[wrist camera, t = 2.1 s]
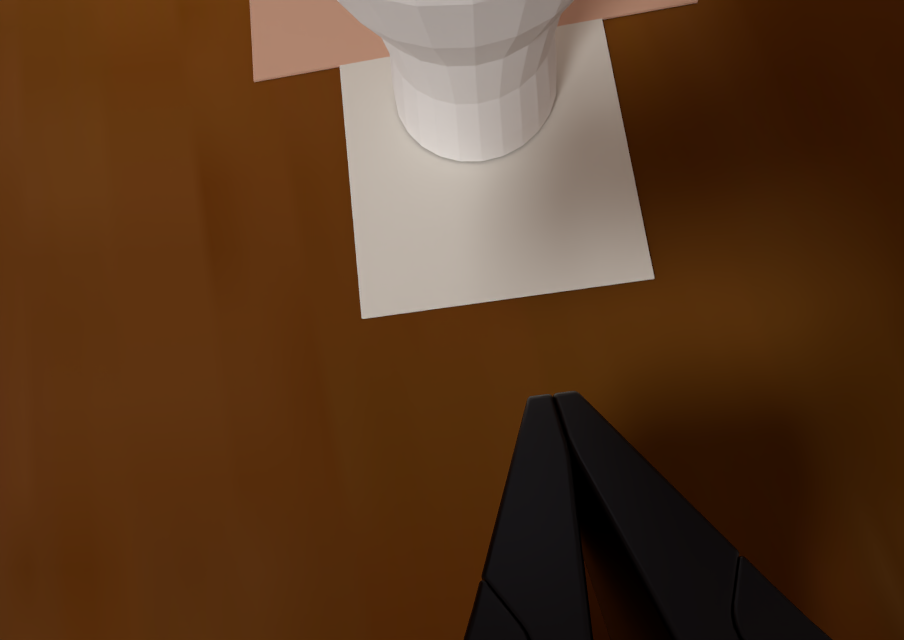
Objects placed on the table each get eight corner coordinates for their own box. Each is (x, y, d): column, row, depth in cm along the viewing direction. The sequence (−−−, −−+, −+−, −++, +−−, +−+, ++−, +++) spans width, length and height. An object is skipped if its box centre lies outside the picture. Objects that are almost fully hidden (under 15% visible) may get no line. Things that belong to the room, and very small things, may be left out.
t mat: (761, 264, 20) (762, 263, 20) (267, 332, 22) (266, 331, 22) (664, -134, 24) (664, -136, 24) (248, -50, 25) (246, -52, 25)
